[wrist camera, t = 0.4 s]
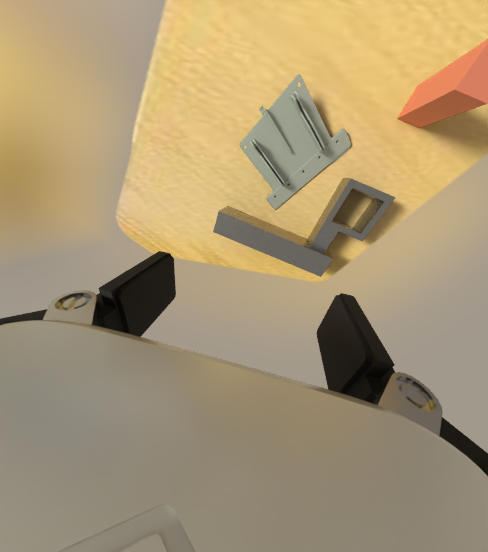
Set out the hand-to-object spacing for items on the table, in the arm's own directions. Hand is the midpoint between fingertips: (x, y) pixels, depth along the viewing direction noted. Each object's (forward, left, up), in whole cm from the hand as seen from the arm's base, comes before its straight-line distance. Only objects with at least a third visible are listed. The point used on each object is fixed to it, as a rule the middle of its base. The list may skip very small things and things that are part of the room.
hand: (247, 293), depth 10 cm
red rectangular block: (-20, +13, -29) cm, 38 cm away
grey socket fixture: (-1, +4, -29) cm, 29 cm away
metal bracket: (-10, -2, -30) cm, 31 cm away
